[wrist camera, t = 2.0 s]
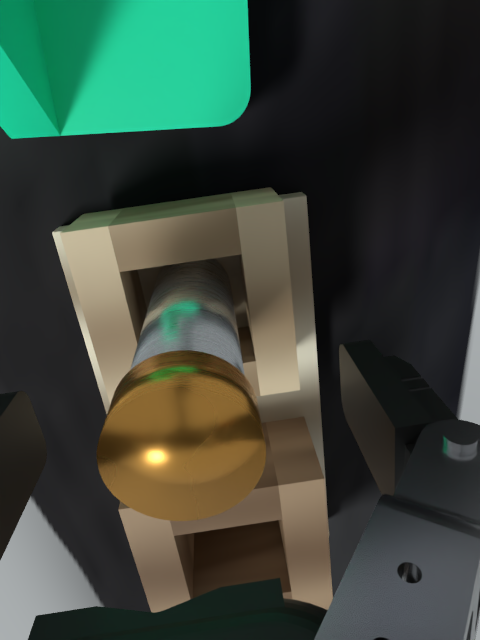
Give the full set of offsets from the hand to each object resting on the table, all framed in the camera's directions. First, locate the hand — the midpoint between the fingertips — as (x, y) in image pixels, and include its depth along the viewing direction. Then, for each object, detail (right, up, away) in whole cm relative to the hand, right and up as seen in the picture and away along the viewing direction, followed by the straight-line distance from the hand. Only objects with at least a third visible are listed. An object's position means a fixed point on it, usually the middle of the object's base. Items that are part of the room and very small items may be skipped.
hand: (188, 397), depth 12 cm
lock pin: (-1, +3, +7) cm, 7 cm away
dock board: (0, -2, +10) cm, 10 cm away
